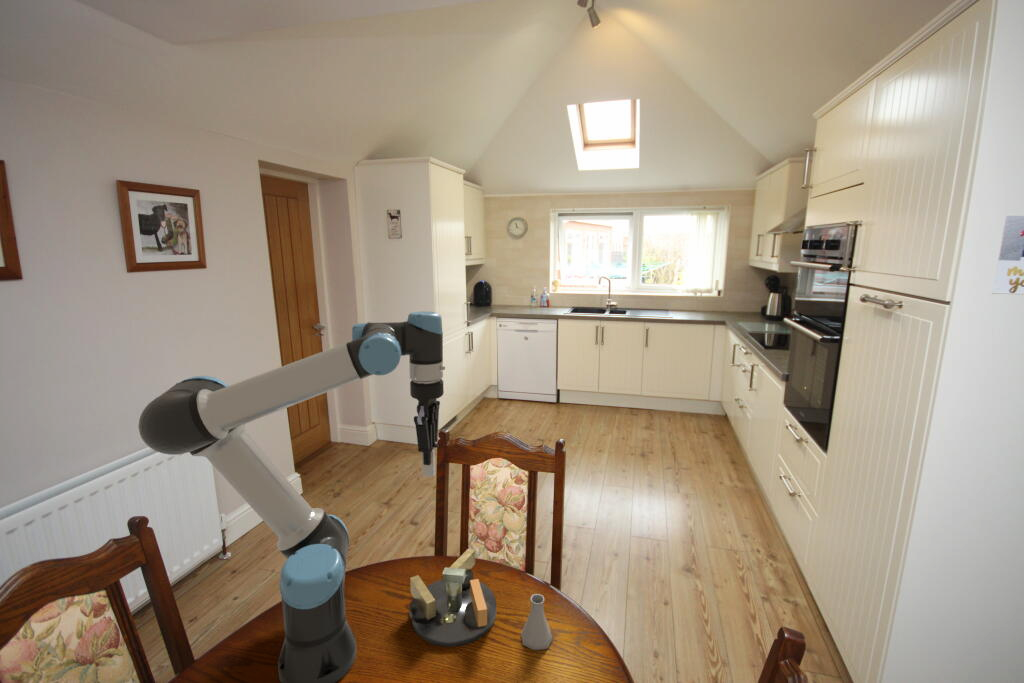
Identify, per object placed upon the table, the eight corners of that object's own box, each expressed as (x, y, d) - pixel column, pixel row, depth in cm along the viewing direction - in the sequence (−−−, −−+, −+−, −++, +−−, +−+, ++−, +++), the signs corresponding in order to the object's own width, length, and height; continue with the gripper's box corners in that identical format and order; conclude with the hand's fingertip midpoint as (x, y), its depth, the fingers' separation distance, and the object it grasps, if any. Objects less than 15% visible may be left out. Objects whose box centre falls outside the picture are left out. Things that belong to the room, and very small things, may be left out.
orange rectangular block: (495, 632, 104) (496, 607, 103) (469, 638, 103) (468, 612, 102) (486, 601, 114) (486, 577, 113) (461, 605, 112) (461, 581, 111)
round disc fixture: (397, 641, 105) (395, 597, 102) (427, 574, 127) (426, 536, 125) (488, 651, 102) (488, 606, 100) (503, 581, 124) (503, 543, 122)
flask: (551, 654, 102) (552, 613, 100) (517, 648, 103) (518, 608, 101) (554, 628, 109) (555, 589, 107) (523, 623, 110) (523, 585, 108)
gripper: (434, 387, 102) (436, 489, 106) (449, 373, 114) (451, 464, 119) (401, 386, 103) (404, 487, 107) (419, 371, 115) (422, 462, 120)
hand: (429, 475), depth 113 cm, fingers closed
